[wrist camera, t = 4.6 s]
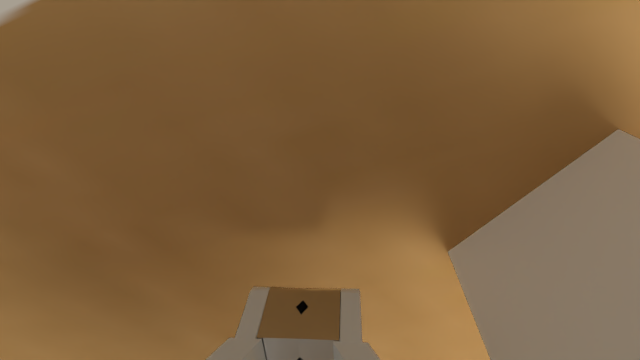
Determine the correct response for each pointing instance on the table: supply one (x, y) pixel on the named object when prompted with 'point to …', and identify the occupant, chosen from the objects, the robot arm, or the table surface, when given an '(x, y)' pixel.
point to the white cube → (562, 263)
